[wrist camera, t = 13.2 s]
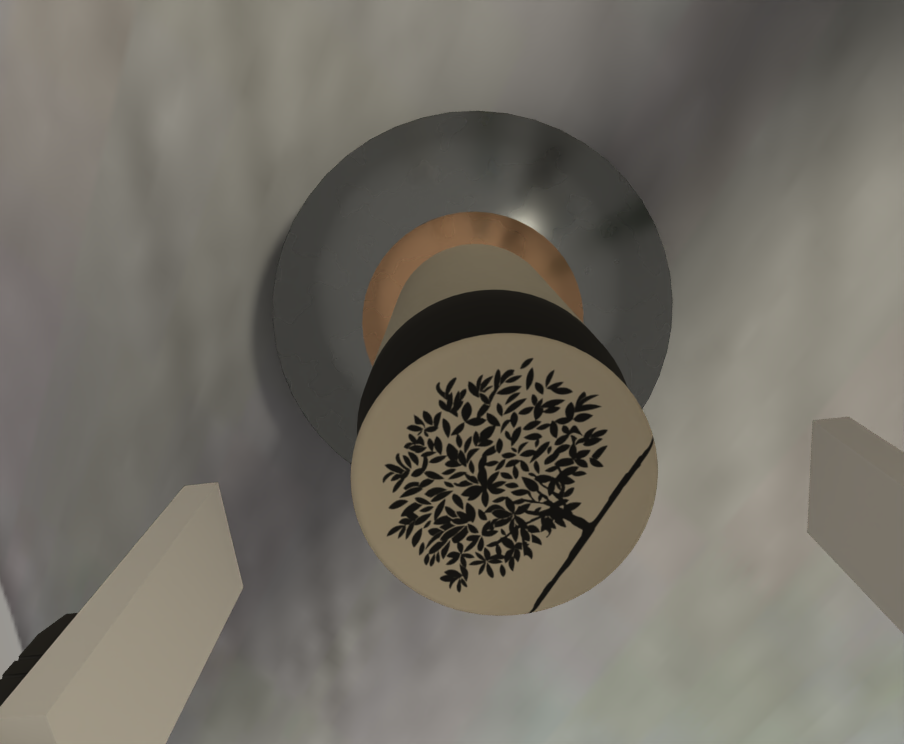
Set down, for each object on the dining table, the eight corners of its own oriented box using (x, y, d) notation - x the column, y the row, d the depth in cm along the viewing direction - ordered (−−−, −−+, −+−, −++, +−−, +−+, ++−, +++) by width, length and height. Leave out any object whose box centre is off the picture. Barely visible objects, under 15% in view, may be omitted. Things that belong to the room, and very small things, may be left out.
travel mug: (362, 337, 34) (274, 512, 16) (462, 208, 32) (481, 253, 15) (485, 429, 35) (524, 679, 18) (587, 311, 33) (739, 462, 16)
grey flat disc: (654, 90, 33) (669, 84, 30) (665, 467, 38) (678, 485, 36) (247, 140, 33) (233, 138, 31) (317, 504, 39) (309, 524, 37)
